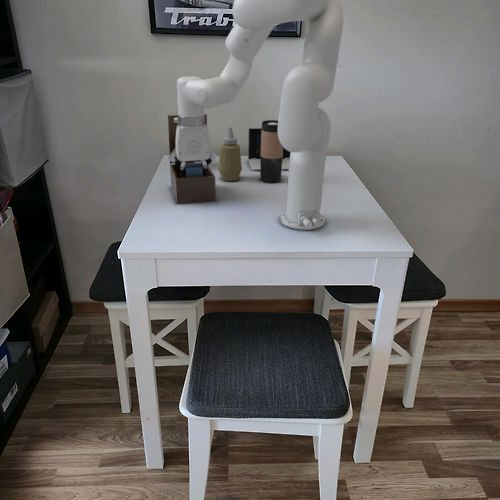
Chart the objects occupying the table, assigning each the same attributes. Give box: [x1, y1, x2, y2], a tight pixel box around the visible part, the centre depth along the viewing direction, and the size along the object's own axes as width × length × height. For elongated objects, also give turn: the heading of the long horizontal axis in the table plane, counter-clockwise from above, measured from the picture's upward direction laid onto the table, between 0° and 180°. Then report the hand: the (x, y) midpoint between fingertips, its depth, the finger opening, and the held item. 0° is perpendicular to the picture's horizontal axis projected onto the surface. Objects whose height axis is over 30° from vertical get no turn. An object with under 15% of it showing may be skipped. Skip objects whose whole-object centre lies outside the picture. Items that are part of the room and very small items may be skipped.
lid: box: [167, 113, 208, 164], centre depth 152 cm, size 16×12×5 cm
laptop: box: [247, 127, 291, 171], centre depth 179 cm, size 18×12×13 cm
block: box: [185, 162, 203, 178], centre depth 146 cm, size 5×5×5 cm
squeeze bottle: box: [218, 126, 243, 182], centre depth 163 cm, size 8×8×18 cm
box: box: [169, 162, 217, 205], centre depth 151 cm, size 15×12×8 cm
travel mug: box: [260, 119, 283, 184], centre depth 162 cm, size 8×8×20 cm
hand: (193, 179), depth 147 cm, fingers closed on block, 5 cm apart
